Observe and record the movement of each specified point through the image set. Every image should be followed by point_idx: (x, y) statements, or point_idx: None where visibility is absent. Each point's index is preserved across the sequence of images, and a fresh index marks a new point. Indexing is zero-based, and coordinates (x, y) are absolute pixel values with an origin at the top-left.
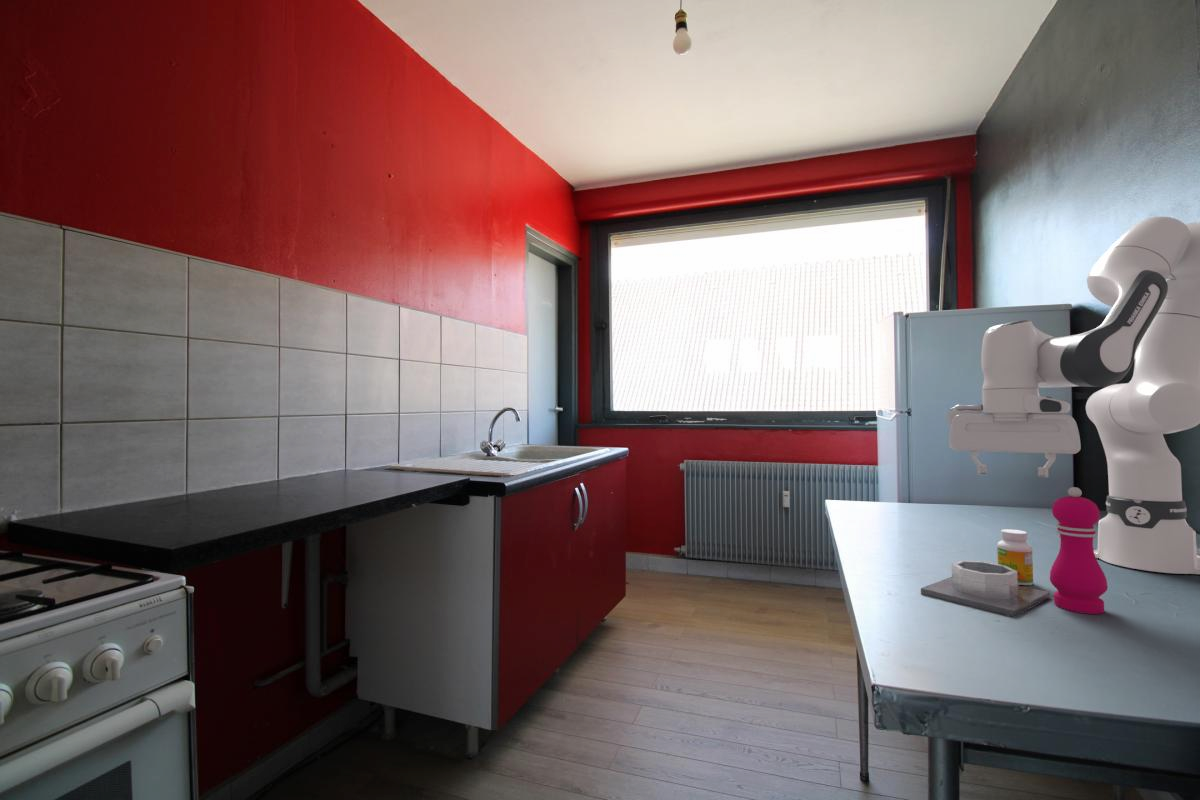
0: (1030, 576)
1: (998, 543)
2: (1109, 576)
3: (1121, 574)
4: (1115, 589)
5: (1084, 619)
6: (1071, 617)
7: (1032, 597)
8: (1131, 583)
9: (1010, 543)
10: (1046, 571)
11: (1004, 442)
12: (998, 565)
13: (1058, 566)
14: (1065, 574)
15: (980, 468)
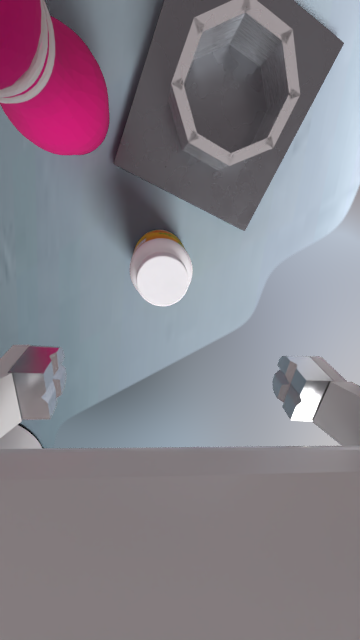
0: (137, 243)
1: (191, 267)
2: None
3: None
4: (22, 289)
5: (63, 8)
6: (85, 11)
7: (144, 92)
8: (3, 340)
9: (171, 252)
10: (111, 351)
11: (306, 552)
12: (202, 136)
13: (82, 53)
14: (71, 30)
15: (322, 369)
